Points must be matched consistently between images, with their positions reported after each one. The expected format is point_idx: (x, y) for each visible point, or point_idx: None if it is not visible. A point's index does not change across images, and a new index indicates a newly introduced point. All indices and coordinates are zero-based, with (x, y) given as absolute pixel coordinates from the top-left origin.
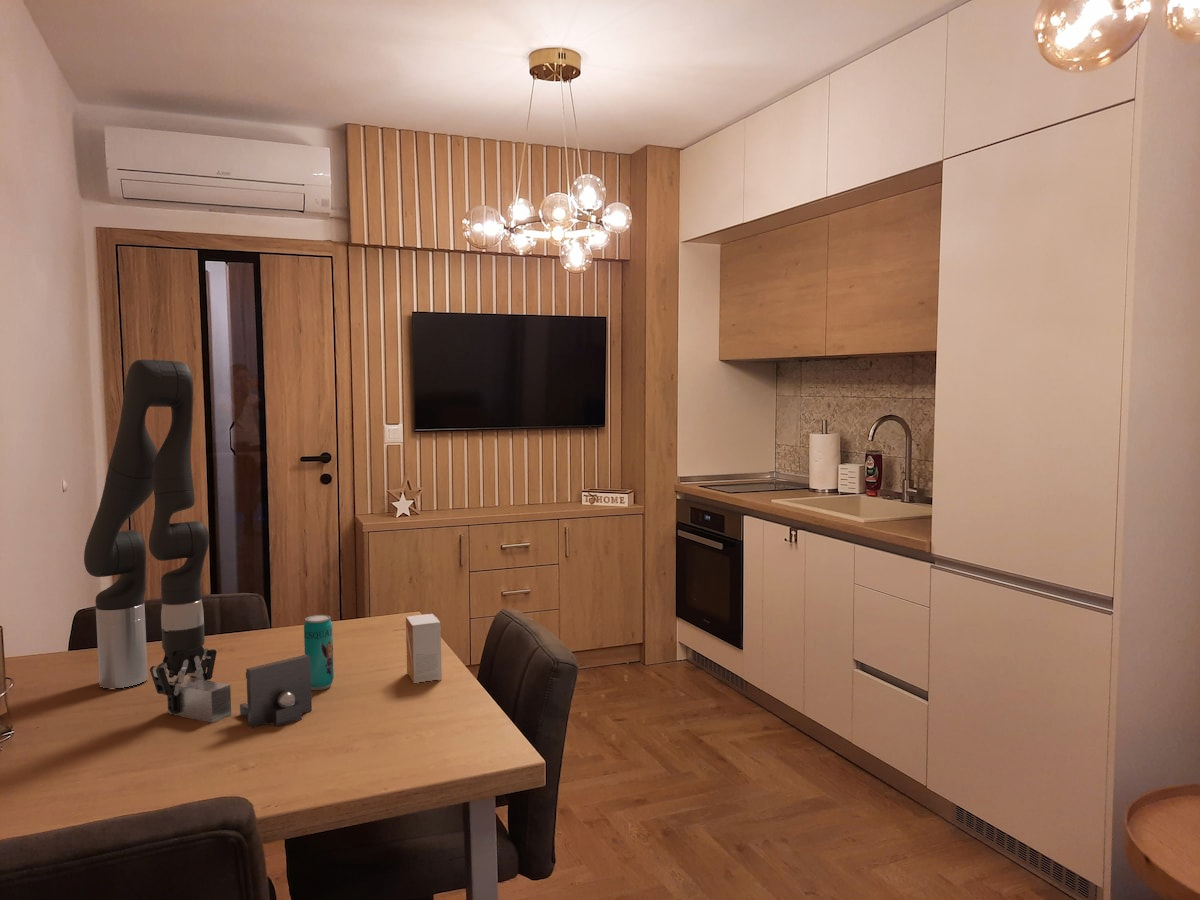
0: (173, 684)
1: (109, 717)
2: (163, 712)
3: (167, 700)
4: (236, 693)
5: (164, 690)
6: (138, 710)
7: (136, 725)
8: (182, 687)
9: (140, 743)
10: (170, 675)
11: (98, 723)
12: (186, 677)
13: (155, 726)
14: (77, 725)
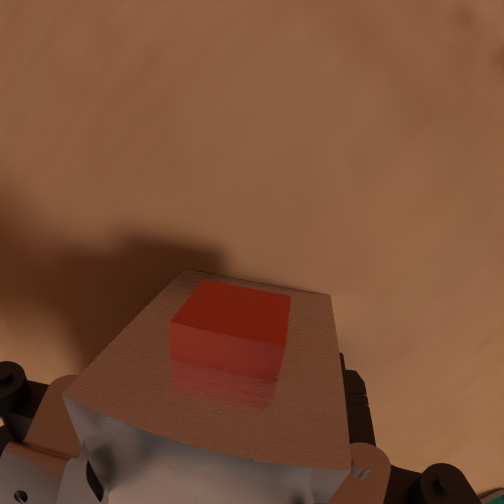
0: (92, 452)
1: (75, 14)
2: (192, 224)
3: (145, 307)
4: (500, 390)
5: (3, 436)
6: (179, 41)
7: (38, 227)
8: (112, 496)
9: (3, 349)
10: (25, 501)
11: (25, 49)
12: (323, 482)
13: (64, 317)
14: (13, 10)
